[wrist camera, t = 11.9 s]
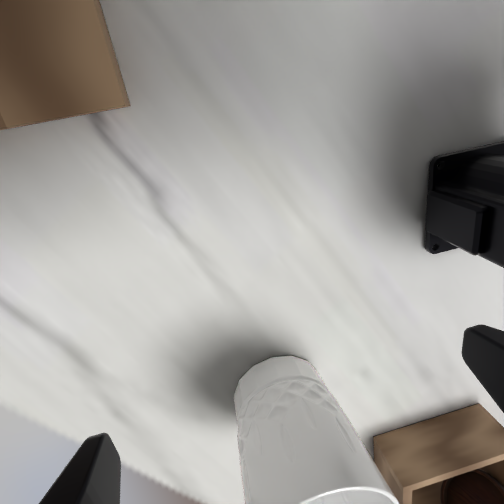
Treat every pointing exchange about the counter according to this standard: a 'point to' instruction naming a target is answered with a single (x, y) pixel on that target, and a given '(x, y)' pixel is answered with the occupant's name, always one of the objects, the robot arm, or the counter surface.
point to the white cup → (300, 441)
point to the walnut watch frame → (439, 453)
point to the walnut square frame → (56, 62)
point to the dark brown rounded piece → (472, 489)
